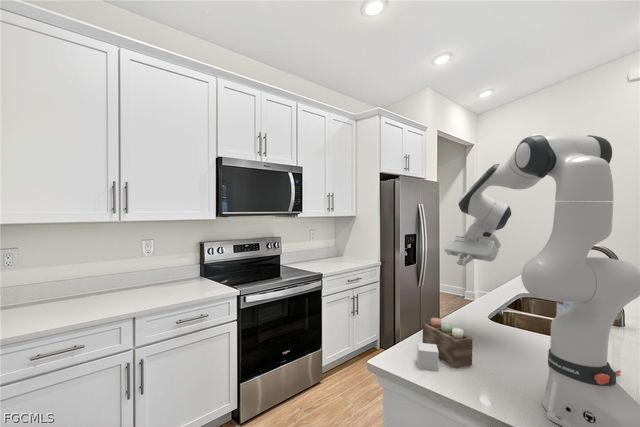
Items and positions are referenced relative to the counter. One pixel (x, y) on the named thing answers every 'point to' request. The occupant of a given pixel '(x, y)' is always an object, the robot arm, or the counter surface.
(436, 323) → the terracotta button
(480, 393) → the counter surface
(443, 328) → the sage button
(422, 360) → the grey cube
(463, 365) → the brown wooden box
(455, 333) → the cream button
